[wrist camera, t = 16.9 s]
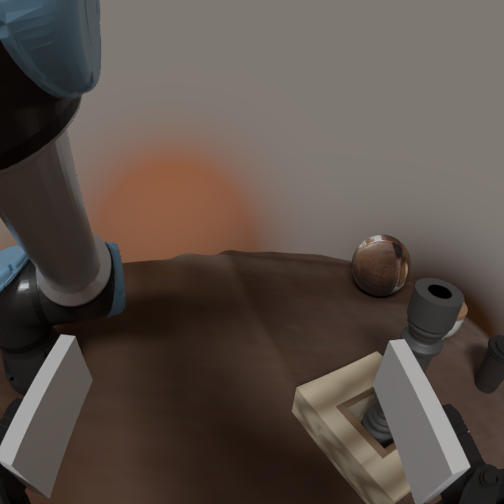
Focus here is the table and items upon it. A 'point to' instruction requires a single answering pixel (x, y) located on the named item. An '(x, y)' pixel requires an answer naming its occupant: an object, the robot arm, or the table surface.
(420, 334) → the candle holder
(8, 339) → the robot arm
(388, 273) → the clear glass sphere
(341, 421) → the socket block
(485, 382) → the coffee cup
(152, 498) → the table surface
